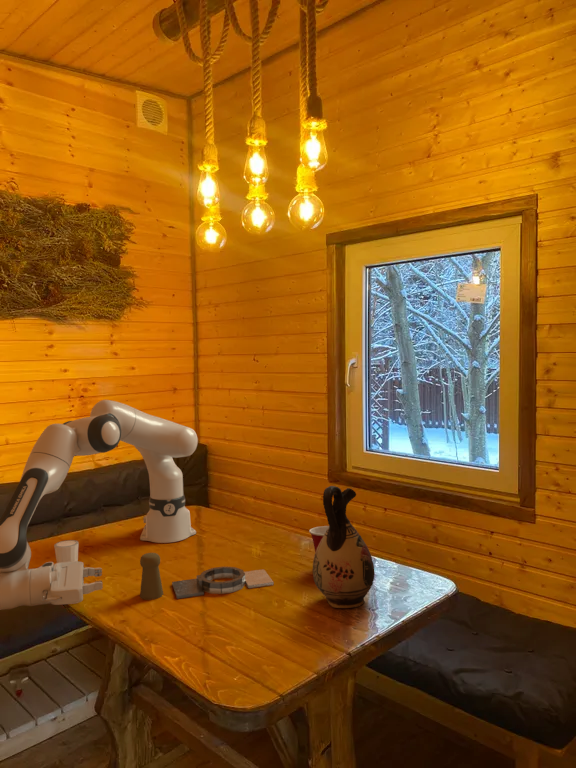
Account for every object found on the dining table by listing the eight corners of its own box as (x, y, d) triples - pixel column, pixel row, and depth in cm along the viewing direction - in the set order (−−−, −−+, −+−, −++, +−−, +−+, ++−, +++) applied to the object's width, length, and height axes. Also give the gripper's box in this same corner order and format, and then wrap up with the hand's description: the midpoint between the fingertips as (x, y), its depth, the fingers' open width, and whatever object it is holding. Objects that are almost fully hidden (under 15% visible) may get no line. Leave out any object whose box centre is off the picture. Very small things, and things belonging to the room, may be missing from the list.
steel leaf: (197, 579, 172) (197, 575, 172) (262, 570, 178) (262, 566, 178) (204, 596, 161) (204, 591, 161) (274, 586, 167) (274, 581, 167)
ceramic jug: (333, 584, 167) (331, 475, 165) (385, 597, 158) (383, 481, 156) (297, 607, 153) (295, 488, 151) (352, 623, 144) (350, 496, 142)
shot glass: (84, 564, 187) (83, 541, 187) (66, 571, 181) (65, 548, 181) (68, 560, 190) (67, 538, 190) (50, 568, 184) (49, 545, 184)
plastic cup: (344, 562, 184) (343, 522, 183) (350, 575, 173) (350, 533, 172) (308, 563, 183) (307, 524, 182) (312, 577, 172) (311, 535, 171)
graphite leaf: (171, 583, 170) (171, 573, 170) (239, 574, 176) (238, 564, 176) (177, 600, 159) (177, 589, 159) (249, 589, 165) (249, 579, 164)
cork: (168, 593, 164) (166, 552, 163) (151, 601, 159) (149, 559, 158) (151, 588, 167) (150, 548, 166) (134, 596, 162) (133, 555, 161)
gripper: (40, 588, 144) (102, 580, 149) (46, 559, 164) (101, 553, 168) (41, 615, 145) (103, 606, 149) (47, 583, 164) (102, 576, 169)
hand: (102, 578), depth 159 cm, fingers open, 8 cm apart
